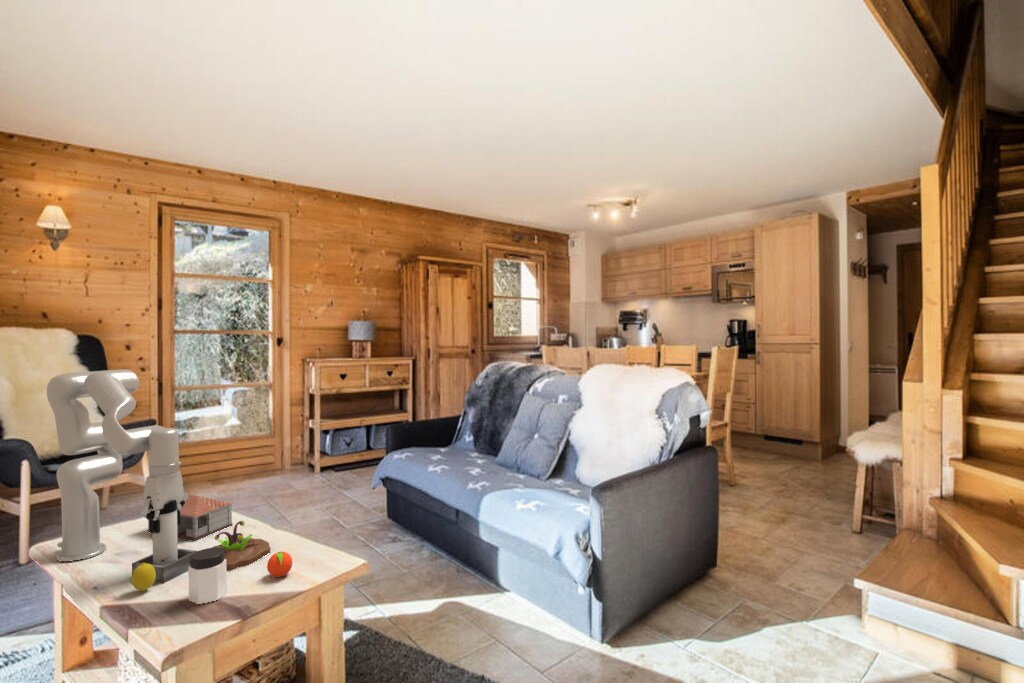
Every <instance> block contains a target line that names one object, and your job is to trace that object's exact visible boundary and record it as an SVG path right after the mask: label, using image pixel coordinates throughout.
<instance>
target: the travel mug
mask: <svg viewBox="0 0 1024 683" xmlns="http://www.w3.org/2000/svg"><path fill="white" fill-rule="evenodd" d="M154 513H155V511H154ZM154 513H153V515H154ZM158 519H159V520H160V532H159V533H153V534H152V554H153V565H160V566H165V565H167V564H169V563H171V562H174V561H176V560H178V548H179V547H178V542H179V541H178V538H177V500H173V501H171V502H169V503H168V504H164V508H163V509H161V510H160V513H159V516H158Z"/></svg>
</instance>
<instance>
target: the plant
mask: <svg viewBox="0 0 1024 683" xmlns="http://www.w3.org/2000/svg"><path fill="white" fill-rule="evenodd" d="M245 525H246V523H245V521H243V520H239V521H237V522H236V523H235V525H234V528H233V530H232V534H231V533H230V532H228V531H220V532H218V533H217V534H216V535H215V536H214V540H215V541H218V542H219V543H220V544H219V545H214V546H211V548H222V549H224V559H226V569H227V570H229V571H234V570H236V569H238V568H237V567H239V568H242V567H247V566H246V565H248V566H250V565H249V564H251V563H252V564H254V563H256V562H258V561H259V560H258V559H260V558H262V557H263V556H265V555H267V554H268V553H270V554H271V547H270V542H268V541H266V540H264V539H262V538H253V534H250V535H248V536H246V537H244V533H241V532H238V526H241V527H243V526H245ZM220 535H226V537H225V540H224V539H220ZM262 559H263V558H262ZM257 560H258V561H257ZM260 560H261V559H260ZM255 561H256V562H255ZM253 562H254V563H253ZM252 564H251V565H252ZM241 566H242V567H241ZM235 568H236V569H235ZM233 569H234V570H233Z"/></svg>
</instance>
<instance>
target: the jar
mask: <svg viewBox="0 0 1024 683" xmlns="http://www.w3.org/2000/svg"><path fill="white" fill-rule="evenodd" d="M196 551H197V552H195V553H193V554H192V555H191V556H190V566H189V567H188V571H187V572H188V600H189V602H191V601H192V602H191V603H193V602H195V603H196V604H195V603H194V604H195V605H197V604H201V605H203V604H202V603H205V604H209V603H212V601H214V602H217V601H216V600H218V599H219V600H220V599H221V598H222V597H223V596H225V595H226V594H227V593H228V584H227V582H228V581H227V580H228V577H227V569H226V559H224V549H222V548H212V547H207V548H203V549H200V550H196ZM219 600H218V601H219ZM208 602H209V603H208Z"/></svg>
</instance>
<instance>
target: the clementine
mask: <svg viewBox="0 0 1024 683" xmlns="http://www.w3.org/2000/svg"><path fill="white" fill-rule="evenodd" d="M266 563H267V564H266V565H267V566H266V569H267V572H268V573H269V574H270V575H271V576H272V577H274V578H281V577H283V576H285V575H287V574H288V573H289V572H290V571H291V569H292V566H293V557H292V556H291V554H289V553H288V552H286V551H277V552H275V553H273V554H272V555H271V556H270V557H269V559H268V560H267V562H266Z"/></svg>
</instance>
